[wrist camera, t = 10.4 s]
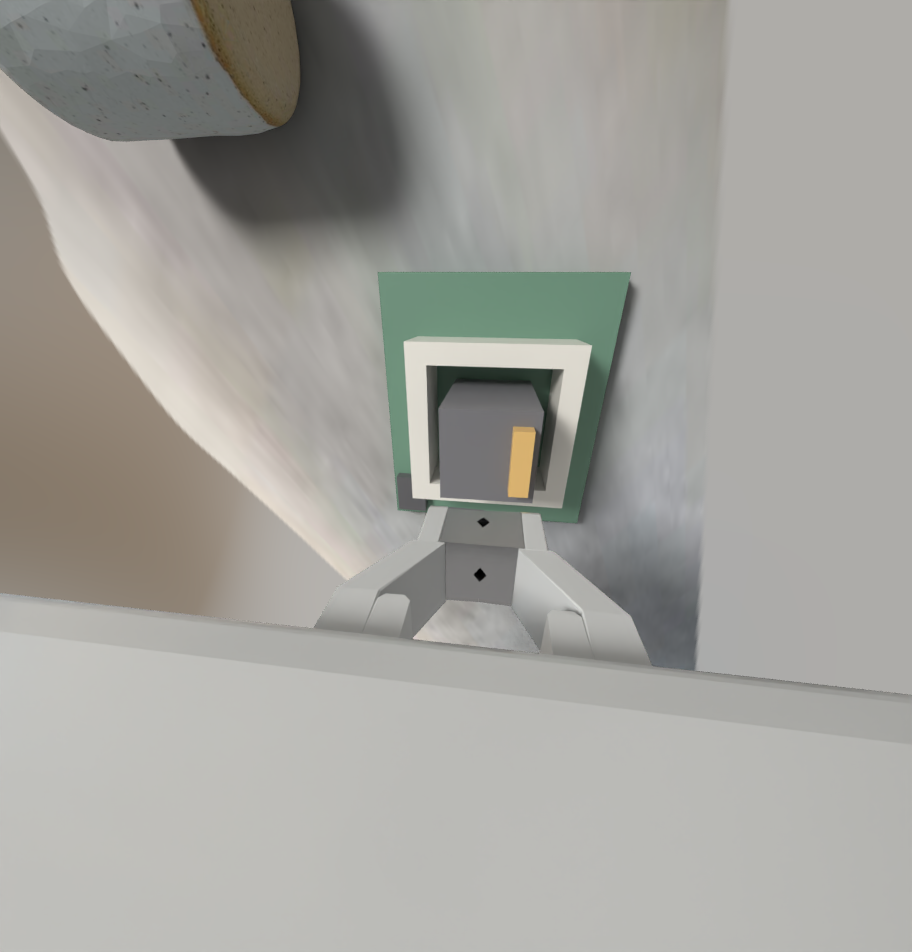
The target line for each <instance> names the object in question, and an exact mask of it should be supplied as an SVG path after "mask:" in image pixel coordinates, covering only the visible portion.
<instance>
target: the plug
mask: <svg viewBox="0 0 912 952" xmlns="http://www.w3.org/2000/svg"><path fill="white" fill-rule="evenodd" d="M438 409H439V458H440V498H455V499H471V500H487V501H503V502H519V503H532V502H533V494H534V487H535V479H536V471H537V463H538V456H539V448H540V440H541V432H542V425H543V417H544V411H543V409H542V406H541V404H540V402H539V399H538V397H537V395H536V392H535V390H534V388H533V385H532V383H531V381H524V380H486V379H456V380H455V382H454V383H453V385H452V387H451V388H450V390H449V392H448V393H447V395H446V397H445V398H444V400H443V402H442V403H441V405H440V407H439V408H438Z"/></svg>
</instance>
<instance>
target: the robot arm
mask: <svg viewBox="0 0 912 952" xmlns="http://www.w3.org/2000/svg"><path fill="white" fill-rule="evenodd" d="M446 600H459V601H473V602H478V600H479V602H483V603H491V604H499V605H507V606H512V609H513V611H514V612H515V614H516V615H517V617H518V618H519V620H520V621H521V623H522V624H523V626H524V627H525V629H526V630H527V632H528V633H529V635H530V636H531V638H532V639H533V641H534V642H535V644H536V645H537V647H538V648H539V650H540V653H532V652H523V651H514V650H505V649H496V648H487V647H478V646H469V645H460V644H451V643H442V642H433V641H424V640H414V639H413V637H414V636H415V635H416V634H417V632H418V631H419V630H420V629H421V628H422V627H423V626H424V625H425V624H426V623H427V621H428V620H429V619H430V618H431V617H432V616H433V615H434V614H435V613H436V611H437V610H438V609H439V608H440V607H441V606H442V605H443V604H444V603H445V602H446ZM0 952H912V695H908V694H900V693H890V692H881V691H872V690H864V689H855V688H846V687H837V686H827V685H818V684H809V683H801V682H792V681H782V680H773V679H765V678H755V677H747V676H737V675H728V674H718V673H710V672H700V671H691V670H682V669H673V668H664V667H655V666H652V664H651V662H650V660H649V657H648V655H647V653H646V650H645V648H644V646H643V643H642V641H641V639H640V636H639V634H638V632H637V629H636V627H635V625H634V622H633V620H632V618H631V616H630V615H629V614H628V613H627V612H625V611H624V610H623V609H622V608H621V607H619V606H618V605H617V604H616V603H615V602H613V601H612V600H611V599H610V598H609V597H608V596H606V595H605V594H604V593H603V592H602V591H600V590H599V589H598V588H597V587H596V586H594V585H593V584H592V583H591V582H590V581H589V580H587V579H586V578H585V577H584V576H583V575H581V574H580V573H579V572H578V571H577V570H576V569H574V568H573V567H572V566H571V565H570V564H568V563H567V562H566V561H565V560H564V559H562V558H561V557H560V556H559V555H558V554H557V553H555V552H554V551H548V546H547V542H546V537H545V532H544V527H543V523H542V518H541V514H540V513H528V512H503V511H484V510H478V509H467V508H456V507H449V508H448V507H447V506H430V507H429V509H428V512H427V514H426V517H425V520H424V523H423V526H422V529H421V531H420V534H419V537H418V540H411V541H410V542H408V543H406V544H405V545H403V546H402V547H400V548H398V549H397V550H395V551H394V552H392V553H390V554H389V555H387V556H386V557H384V558H383V559H381V560H379V561H378V562H376V563H375V564H373V565H371V566H370V567H368V568H367V569H365V570H363V571H362V572H360V573H359V574H357V575H355V576H354V577H352V578H351V579H349V580H348V581H346V582H345V583H343V584H341V585H340V586H338V587H337V589H336V590H335V592H334V594H333V595H332V597H331V599H330V601H329V602H328V604H327V606H326V607H325V609H324V611H323V612H322V614H321V616H320V618H319V619H318V621H317V623H316V625H315V626H314V628H306V627H297V626H287V625H279V624H269V623H261V622H252V621H244V620H235V619H226V618H216V617H208V616H198V615H190V614H181V613H171V612H162V611H154V610H144V609H136V608H126V607H118V606H109V605H100V604H90V603H83V602H73V601H65V600H55V599H47V598H38V597H29V596H20V595H11V594H2V593H0Z"/></svg>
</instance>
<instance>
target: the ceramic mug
mask: <svg viewBox="0 0 912 952" xmlns="http://www.w3.org/2000/svg"><path fill="white" fill-rule="evenodd" d="M0 69H1V70H2V71H3V72H4V73H5V74H6V75H7V76H8V77H9V78H11V79H12V80H13V81H14V82H15V83H16V84H17V85H18V86H19V87H20V88H22V89H23V90H24V91H25V92H26V93H27V94H29V95H30V96H31V97H32V98H33V99H35V100H36V101H37V102H39V103H40V104H41V105H42V106H44V107H45V108H46V109H48V110H49V111H51V112H52V113H54V114H55V115H57V116H58V117H60V118H61V119H63V120H65V121H66V122H68V123H69V124H71V125H73V126H75V127H77V128H79V129H81V130H83V131H85V132H87V133H90V134H92V135H95V136H97V137H100V138H103V139H107V140H110V141H142V140H163V139H181V138H194V137H207V136H241V135H250V134H259V133H262V132H265V131H267V130H270V129H274V128H277V127H279V126H282V125H283V124H285V123H287V121H288V120H289V119H290V118H291V116H292V115H293V112H294V110H295V108H296V104H297V99H298V94H299V87H300V60H299V48H298V41H297V34H296V27H295V21H294V16H293V11H292V6H291V1H290V0H0Z"/></svg>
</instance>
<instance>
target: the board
mask: <svg viewBox="0 0 912 952" xmlns="http://www.w3.org/2000/svg"><path fill="white" fill-rule="evenodd" d="M630 275H631V272H378V280H379V292H380V304H381V316H382V328H383V340H384V352H385V364H386V376H387V388H388V400H389V412H390V424H391V435H392V447H393V459H394V471H395V483H396V495H397V507H398V510H403V511H416V512H428V509H429V507H430V506H447V507H448V508H449V507H456V508H467V509H478V510H484V511H503V512H528V513H540V514H541V518H542V521H554V522H567V523H577V521H578V516H579V511H580V507H581V502H582V498H583V493H584V488H585V484H586V479H587V474H588V470H589V465H590V460H591V456H592V451H593V446H594V442H595V437H596V433H597V428H598V423H599V419H600V414H601V409H602V405H603V400H604V395H605V391H606V386H607V381H608V377H609V372H610V367H611V363H612V358H613V354H614V349H615V344H616V340H617V335H618V330H619V326H620V321H621V316H622V312H623V307H624V302H625V298H626V293H627V289H628V284H629V279H630ZM456 379H486V380H524V381H531V383H532V385H533V388H534V390H535V392H536V395H537V397H538V399H539V402H540V404H541V406H542V409H543V411H544V417H543V425H542V432H541V440H540V448H539V456H538V463H537V471H536V479H535V487H534V494H533V502H532V503H519V502H503V501H487V500H471V499H455V498H440V458H439V409H438V408H439V407H440V405H441V403H442V402H443V400H444V398H445V397H446V395H447V393H448V392H449V390H450V388H451V387H452V385H453V383H454V382H455V380H456Z"/></svg>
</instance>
